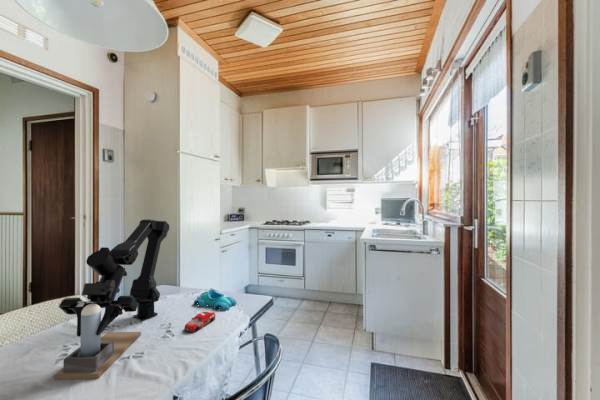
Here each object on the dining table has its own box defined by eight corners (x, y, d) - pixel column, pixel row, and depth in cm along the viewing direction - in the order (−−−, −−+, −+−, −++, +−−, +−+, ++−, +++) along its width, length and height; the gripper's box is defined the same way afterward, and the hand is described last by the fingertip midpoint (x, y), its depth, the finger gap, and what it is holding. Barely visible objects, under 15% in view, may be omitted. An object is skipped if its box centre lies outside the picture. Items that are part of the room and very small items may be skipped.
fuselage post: (79, 357, 74) (80, 303, 74) (99, 351, 77) (100, 300, 77) (80, 365, 71) (81, 308, 71) (101, 358, 74) (102, 304, 74)
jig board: (107, 335, 91) (107, 322, 91) (141, 335, 92) (141, 321, 92) (53, 379, 69) (54, 361, 69) (98, 378, 70) (99, 360, 70)
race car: (192, 335, 93) (192, 324, 93) (181, 332, 95) (181, 321, 95) (217, 319, 105) (218, 309, 105) (207, 317, 107) (207, 307, 107)
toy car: (207, 297, 128) (207, 284, 128) (239, 303, 122) (239, 289, 122) (191, 306, 118) (191, 291, 118) (225, 313, 112) (225, 297, 112)
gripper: (63, 270, 76) (31, 327, 65) (134, 269, 80) (115, 322, 69) (80, 288, 84) (54, 341, 73) (144, 286, 87) (128, 336, 77)
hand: (87, 335), depth 73 cm, fingers closed on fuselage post, 4 cm apart
